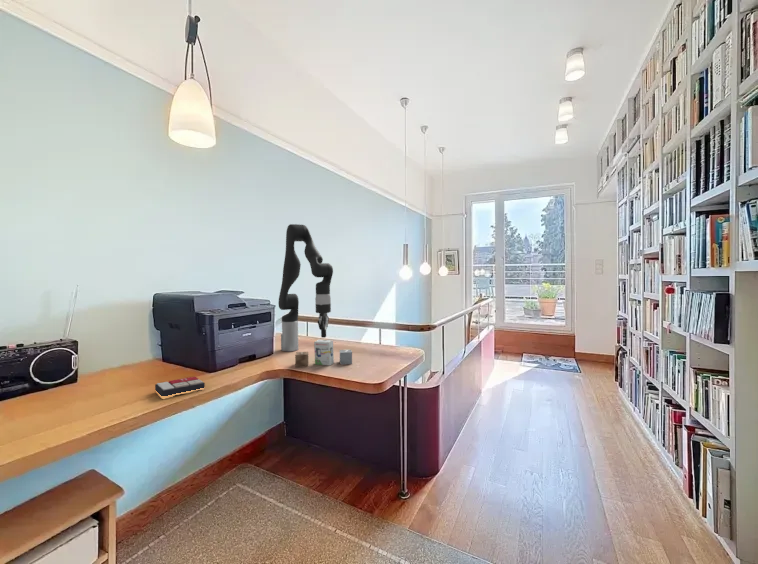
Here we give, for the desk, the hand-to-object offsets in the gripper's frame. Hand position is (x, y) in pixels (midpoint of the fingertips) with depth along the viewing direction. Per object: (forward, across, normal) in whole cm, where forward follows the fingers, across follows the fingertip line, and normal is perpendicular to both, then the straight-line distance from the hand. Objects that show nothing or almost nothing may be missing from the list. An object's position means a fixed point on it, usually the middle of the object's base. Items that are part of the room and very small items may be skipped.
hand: (323, 337), depth 176 cm
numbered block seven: (+14, -3, +10) cm, 17 cm away
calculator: (+14, +42, -48) cm, 65 cm away
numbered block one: (+14, +3, -11) cm, 17 cm away
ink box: (+14, 0, 0) cm, 14 cm away
